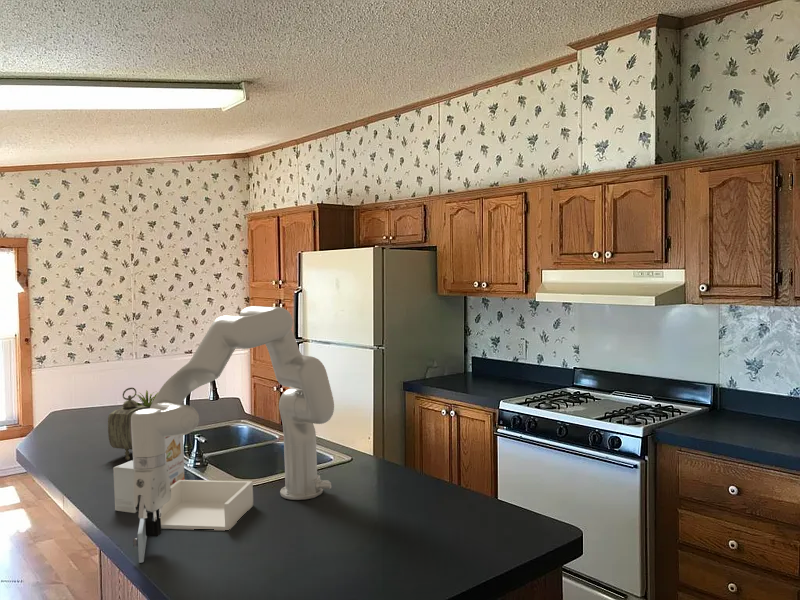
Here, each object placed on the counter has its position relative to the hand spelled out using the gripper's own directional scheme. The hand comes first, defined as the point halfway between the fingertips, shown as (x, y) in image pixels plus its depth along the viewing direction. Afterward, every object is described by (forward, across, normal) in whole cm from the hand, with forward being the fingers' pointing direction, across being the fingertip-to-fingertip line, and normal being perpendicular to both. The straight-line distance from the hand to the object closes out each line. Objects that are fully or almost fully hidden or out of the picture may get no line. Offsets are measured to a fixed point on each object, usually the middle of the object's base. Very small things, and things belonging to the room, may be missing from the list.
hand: (153, 534), depth 164 cm
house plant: (+4, +119, +65) cm, 136 cm away
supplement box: (+4, +26, +20) cm, 33 cm away
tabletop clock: (+4, +76, +49) cm, 91 cm away
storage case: (+4, +21, -3) cm, 22 cm away
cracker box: (+4, +41, +18) cm, 45 cm away
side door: (+3, +2, +4) cm, 6 cm away
